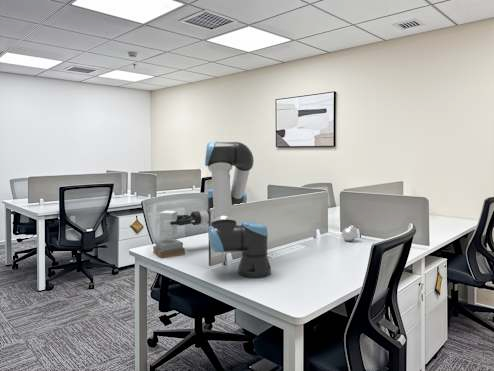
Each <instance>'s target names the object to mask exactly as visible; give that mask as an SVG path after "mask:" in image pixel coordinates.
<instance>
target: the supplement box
mask: <svg viewBox="0 0 494 371" xmlns="http://www.w3.org/2000/svg"><path fill="white" fill-rule="evenodd" d="M177 215H178V211H177V210H164V211H161V212H159V216H158V217H160V223H159V236H160V237H170V238H171V237H173V236H175V235H178V225H177V224H176V225H172V226H164V221H169V220H176V221H177Z"/></svg>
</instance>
